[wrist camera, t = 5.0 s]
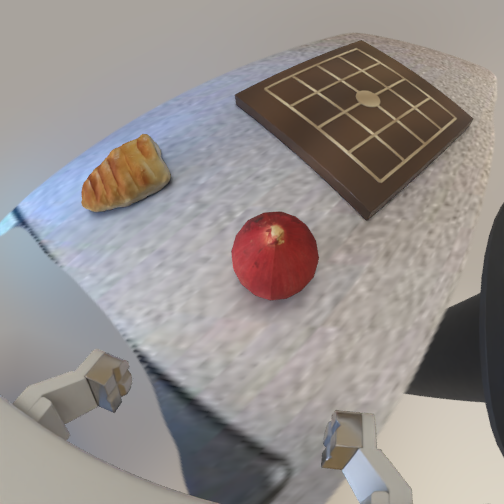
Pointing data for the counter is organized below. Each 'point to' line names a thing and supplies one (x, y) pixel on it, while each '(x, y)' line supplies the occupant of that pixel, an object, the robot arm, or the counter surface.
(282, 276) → the onion
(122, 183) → the pastry
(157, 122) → the counter surface
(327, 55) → the grid board
